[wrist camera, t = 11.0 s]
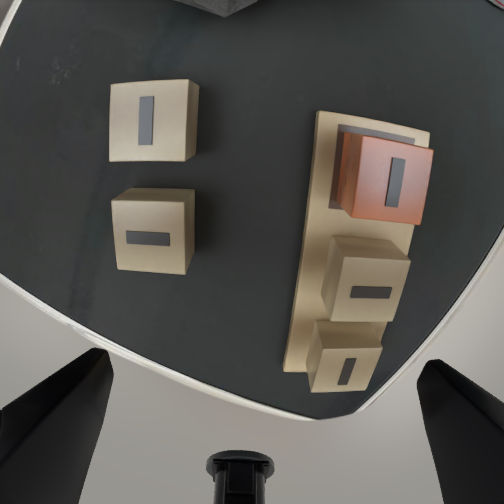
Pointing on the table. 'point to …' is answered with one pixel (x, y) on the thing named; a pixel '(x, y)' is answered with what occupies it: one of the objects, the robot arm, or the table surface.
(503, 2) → the pill bottle
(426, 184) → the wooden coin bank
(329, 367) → the right tiles
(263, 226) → the table surface
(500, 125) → the table surface
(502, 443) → the robot arm
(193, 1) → the potted plant
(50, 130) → the table surface
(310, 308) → the pattern board
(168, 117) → the left tiles
